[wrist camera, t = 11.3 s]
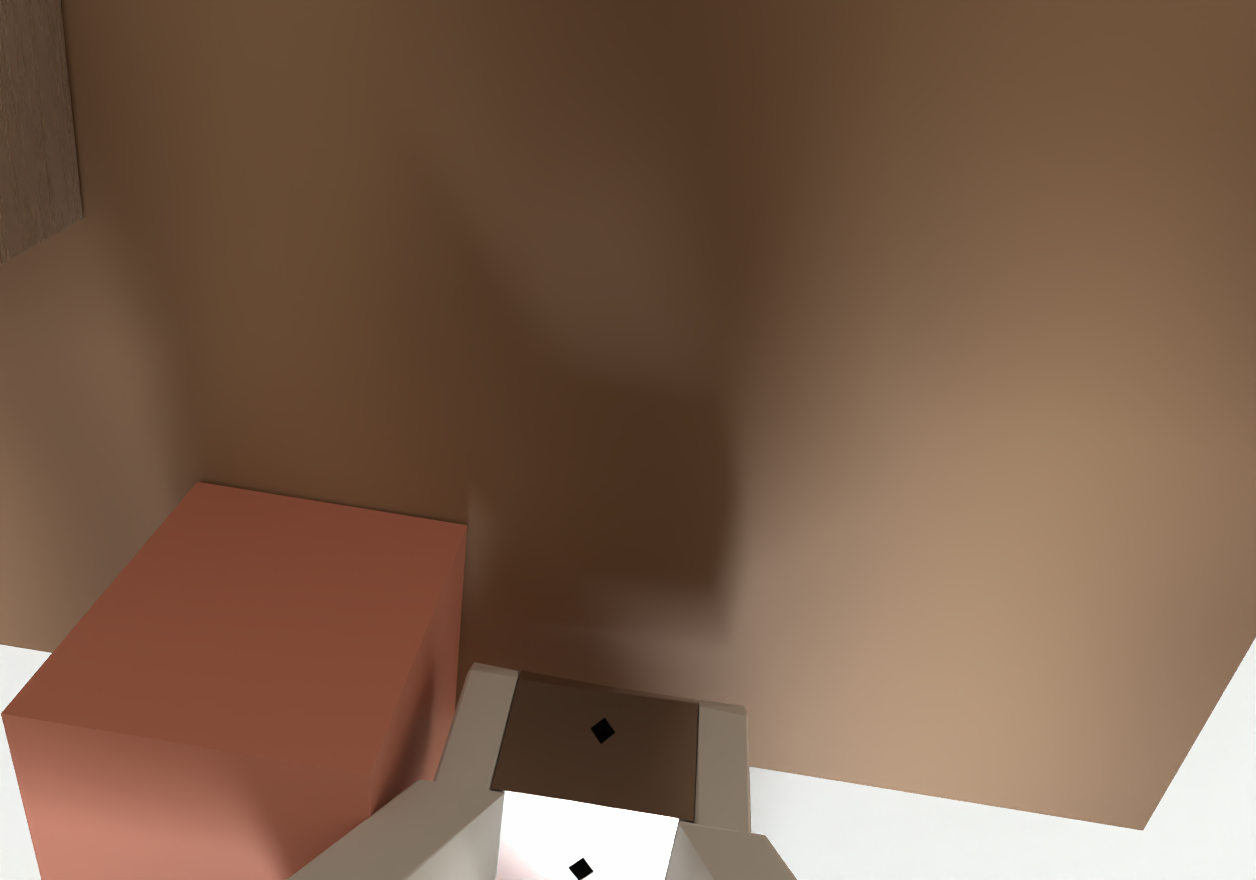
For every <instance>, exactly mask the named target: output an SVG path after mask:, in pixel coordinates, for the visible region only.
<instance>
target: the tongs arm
mask: <svg viewBox="0 0 1256 880" xmlns="http://www.w3.org/2000/svg"><path fill="white" fill-rule="evenodd" d="M81 219H83V215H82V205H81V196H80V186H79V176H78V167H77V157H76V147H75V138H74V128H73V119H72V109H71V99H70V90H69V80H68V70H67V61H66V51H65V42H64V32H63V22H62V13H61V3H60V0H0V265H1V264H3V263H5V262H7V261H8V260H10V259H12V258H14V257H15V256H17V255H19V254H21V253H23V252H24V251H26V250H28V249H30V248H31V247H33V246H35V245H37V244H38V243H40V242H42V241H44V240H46V239H47V238H49V237H51V236H53V235H54V234H56V233H58V232H60V231H61V230H63V229H65V228H67V227H68V226H70V225H72V224H74V223H76V222H77V221H79V220H81Z"/></svg>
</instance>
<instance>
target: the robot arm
mask: <svg viewBox="0 0 1256 880" xmlns="http://www.w3.org/2000/svg"><path fill="white" fill-rule="evenodd" d="M287 880H797V879H796V878H795V876H794V875H793V873H792V872H791V871H790V869H789V868H788V866H787V865H786V864H785V862H784V861H783V859H782V858H781V857H780V855H779V854H778V852H777V851H776V850H775V848H774V847H773V845H772V844H771V843H770V841H769V840H768V838H767V837H766V836H764V835H759V834H754V833H751V810H750V774H749V739H748V713H747V711H746V709H745V707H744V706H739V705H732V704H726V703H719V702H712V701H705V700H699V699H698V701H696V699H690V698H683V697H677V696H670V695H664V694H657V693H651V692H644V691H637V690H631V689H624V688H618V687H611V686H603V685H598V684H593V683H587V682H582V681H576V680H571V679H566V678H560V677H555V676H550V675H544V674H539V673H534V672H528V671H523V670H521V671H516V670H511V669H506V668H501V667H496V666H491V665H486V664H480V663H475V662H474V663H473V665H472V666H471V668H470V670H469V671H468V673H467V676H466V679H465V682H464V686H463V689H462V692H461V695H460V698H459V701H458V704H457V708H456V711H455V714H454V717H453V720H452V723H451V726H450V730H449V733H448V736H447V739H446V742H445V745H444V748H443V752H442V755H441V758H440V761H439V764H438V767H437V770H436V773H435V777H434V780H433V781H428V780H421V779H418V780H417V781H416V782H414V783H413V784H412V785H410V786H409V787H408V788H407V789H405V790H404V791H403V792H401V793H400V794H399V795H397V796H396V797H395V798H393V799H392V800H391V801H389V802H388V803H387V804H385V805H384V806H383V807H382V808H380V809H379V810H378V811H376V812H375V813H374V814H372V815H371V816H370V818H368V819H366V820H364V821H363V822H362V823H361V824H359V825H358V826H357V827H355V828H354V829H353V830H351V831H350V832H349V833H347V834H346V835H345V836H343V837H342V838H341V839H339V840H338V841H337V842H336V843H334V844H333V845H332V846H330V847H329V848H328V849H326V850H325V851H324V852H322V853H321V854H320V855H318V856H317V857H316V858H314V859H313V860H312V861H311V862H309V863H308V864H307V865H305V866H304V867H303V868H301V869H300V870H299V871H297V872H296V873H295V874H293V875H292V876H291V877H289V878H288V879H287Z"/></svg>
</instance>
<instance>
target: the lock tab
mask: <svg viewBox="0 0 1256 880" xmlns="http://www.w3.org/2000/svg"><path fill="white" fill-rule="evenodd" d="M466 535H467V525H463V524H457V523H450V522H444V521H438V520H432V519H426V518H419V517H413V516H407V515H401V514H395V513H388V512H382V511H376V510H370V509H364V508H357V507H351V506H345V505H339V504H333V503H326V502H320V501H314V500H308V499H302V498H295V497H289V496H283V495H277V494H271V493H264V492H258V491H252V490H246V489H240V488H233V487H227V486H221V485H215V484H209V483H202V482H197V483H196V484H195V485H194V486H193V488H192V489H191V490H190V491H189V492H188V493H187V495H186V496H185V497H184V498H183V499H182V501H181V502H180V503H179V504H178V505H177V506H176V508H175V509H174V510H173V511H172V512H171V514H170V515H169V516H168V517H167V518H166V519H165V521H164V522H163V523H162V524H161V525H160V527H159V528H158V529H157V530H156V531H155V532H154V534H153V535H152V536H151V537H150V538H149V540H148V541H147V542H146V543H145V544H144V545H143V547H142V548H141V549H140V550H139V551H138V553H137V554H136V555H135V556H134V557H133V558H132V560H131V561H130V562H129V563H128V564H127V566H126V567H125V568H124V569H123V570H122V571H121V573H120V574H119V575H118V576H117V577H116V579H115V580H114V581H113V582H112V583H111V584H110V586H109V587H108V588H107V589H106V590H105V591H104V593H103V594H102V595H101V596H100V597H99V599H98V600H97V601H96V602H95V603H94V604H93V606H92V607H91V608H90V609H89V610H88V612H87V613H86V614H85V615H84V616H83V617H82V619H81V620H80V621H79V622H78V623H77V625H76V626H75V627H74V628H73V629H72V630H71V632H70V633H69V634H68V635H67V636H66V638H65V639H64V640H63V641H62V642H61V643H60V645H59V646H58V647H57V648H56V649H55V651H54V652H53V653H52V654H51V655H50V656H49V658H48V659H47V660H46V661H45V662H44V664H43V665H42V666H41V667H40V668H39V669H38V671H37V672H36V673H35V674H34V675H33V677H32V678H31V679H30V680H29V681H28V682H27V684H26V685H25V686H24V687H23V688H22V689H21V691H20V692H19V693H18V694H17V695H16V697H15V698H14V699H13V700H12V701H11V702H10V704H9V705H8V706H7V707H6V708H5V710H4V711H3V712H2V713H1V716H2V720H3V724H4V728H5V732H6V736H7V740H8V744H9V748H10V753H11V757H12V761H13V765H14V769H15V773H16V777H17V781H18V785H19V789H20V793H21V798H22V802H23V806H24V810H25V814H26V818H27V822H28V826H29V830H30V834H31V839H32V843H33V847H34V851H35V855H36V859H37V863H38V867H39V871H40V875H41V880H287V879H288V878H289V877H291V876H292V875H293V874H295V873H296V872H297V871H299V870H300V869H301V868H303V867H304V866H305V865H307V864H308V863H309V862H311V861H312V860H313V859H314V858H316V857H317V856H318V855H320V854H321V853H322V852H324V851H325V850H326V849H328V848H329V847H330V846H332V845H333V844H334V843H336V842H337V841H338V840H339V839H341V838H342V837H343V836H345V835H346V834H347V833H349V832H350V831H351V830H353V829H354V828H355V827H357V826H358V825H359V824H361V823H362V822H363V821H364V820H366V819H368V818H370V816H371V815H372V814H374V813H375V812H376V811H378V810H379V809H380V808H382V807H383V806H384V805H385V804H387V803H388V802H389V801H391V800H392V799H393V798H395V797H396V796H397V795H399V794H400V793H401V792H403V791H404V790H405V789H407V788H408V787H409V786H410V785H412V784H413V783H414V782H416V781H417V780H418V779H421V780H428V781H433V780H434V777H435V773H436V770H437V767H438V764H439V761H440V758H441V755H442V752H443V748H444V745H445V742H446V739H447V736H448V733H449V730H450V726H451V723H452V720H453V717H454V714H455V702H456V687H457V672H458V656H459V641H460V626H461V611H462V596H463V581H464V566H465V551H466Z"/></svg>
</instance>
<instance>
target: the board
mask: <svg viewBox="0 0 1256 880" xmlns="http://www.w3.org/2000/svg"><path fill="white" fill-rule="evenodd" d="M60 3H61V13H62V22H63V32H64V42H65V51H66V61H67V70H68V80H69V90H70V99H71V109H72V119H73V128H74V138H75V147H76V157H77V167H78V176H79V186H80V196H81V205H82V215H83V219H81V220H79V221H77V222H76V223H74V224H72V225H70V226H68V227H67V228H65V229H63V230H61V231H60V232H58V233H56V234H54V235H53V236H51V237H49V238H47V239H46V240H44V241H42V242H40V243H38V244H37V245H35V246H33V247H31V248H30V249H28V250H26V251H24V252H23V253H21V254H19V255H17V256H15V257H14V258H12V259H10V260H8V261H7V262H5V263H3V264H1V265H0V644H2V645H8V646H14V647H20V648H26V649H32V650H38V651H45V652H51V653H53V652H54V651H55V649H56V648H57V647H58V646H59V645H60V643H61V642H62V641H63V640H64V639H65V638H66V636H67V635H68V634H69V633H70V632H71V630H72V629H73V628H74V627H75V626H76V625H77V623H78V622H79V621H80V620H81V619H82V617H83V616H84V615H85V614H86V613H87V612H88V610H89V609H90V608H91V607H92V606H93V604H94V603H95V602H96V601H97V600H98V599H99V597H100V596H101V595H102V594H103V593H104V591H105V590H106V589H107V588H108V587H109V586H110V584H111V583H112V582H113V581H114V580H115V579H116V577H117V576H118V575H119V574H120V573H121V571H122V570H123V569H124V568H125V567H126V566H127V564H128V563H129V562H130V561H131V560H132V558H133V557H134V556H135V555H136V554H137V553H138V551H139V550H140V549H141V548H142V547H143V545H144V544H145V543H146V542H147V541H148V540H149V538H150V537H151V536H152V535H153V534H154V532H155V531H156V530H157V529H158V528H159V527H160V525H161V524H162V523H163V522H164V521H165V519H166V518H167V517H168V516H169V515H170V514H171V512H172V511H173V510H174V509H175V508H176V506H177V505H178V504H179V503H180V502H181V501H182V499H183V498H184V497H185V496H186V495H187V493H188V492H189V491H190V490H191V489H192V488H193V486H194V485H195V484H196V483H197V482H202V483H209V484H215V485H221V486H227V487H233V488H240V489H246V490H252V491H258V492H264V493H271V494H277V495H283V496H289V497H295V498H302V499H308V500H314V501H320V502H326V503H333V504H339V505H345V506H351V507H357V508H364V509H370V510H376V511H382V512H388V513H395V514H401V515H407V516H413V517H419V518H426V519H432V520H438V521H444V522H450V523H457V524H463V525H467V535H466V551H465V566H464V581H463V596H462V611H461V626H460V641H459V656H458V672H457V687H456V702H455V711H456V708H457V704H458V701H459V698H460V695H461V692H462V689H463V686H464V682H465V679H466V676H467V673H468V671H469V670H470V668H471V666H472V665H473V663H474V662H475V663H480V664H486V665H491V666H496V667H501V668H506V669H511V670H516V671H521V670H523V671H528V672H534V673H539V674H544V675H550V676H555V677H560V678H566V679H571V680H576V681H582V682H587V683H593V684H598V685H603V686H611V687H618V688H624V689H631V690H637V691H644V692H651V693H657V694H664V695H670V696H677V697H683V698H690V699H696V701H698V699H699V700H705V701H712V702H719V703H726V704H732V705H739V706H744V707H745V709H746V711H747V713H748V739H749V766H751V767H757V768H763V769H769V770H775V771H781V772H787V773H794V774H800V775H806V776H812V777H818V778H824V779H830V780H836V781H843V782H849V783H855V784H861V785H867V786H873V787H879V788H886V789H892V790H898V791H904V792H910V793H916V794H922V795H929V796H935V797H941V798H947V799H953V800H959V801H965V802H972V803H978V804H984V805H990V806H996V807H1002V808H1008V809H1015V810H1021V811H1027V812H1033V813H1039V814H1045V815H1051V816H1057V817H1064V818H1070V819H1076V820H1082V821H1088V822H1094V823H1100V824H1107V825H1113V826H1119V827H1125V828H1131V829H1137V830H1143V829H1144V828H1145V826H1146V824H1147V823H1148V821H1149V819H1150V817H1151V816H1152V814H1153V812H1154V811H1155V809H1156V807H1157V805H1158V804H1159V802H1160V800H1161V799H1162V797H1163V795H1164V793H1165V792H1166V790H1167V788H1168V787H1169V785H1170V783H1171V781H1172V780H1173V778H1174V776H1175V775H1176V773H1177V771H1178V769H1179V768H1180V766H1181V764H1182V763H1183V761H1184V759H1185V757H1186V756H1187V754H1188V752H1189V751H1190V749H1191V747H1192V745H1193V744H1194V742H1195V740H1196V739H1197V737H1198V735H1199V733H1200V732H1201V730H1202V728H1203V727H1204V725H1205V723H1206V721H1207V720H1208V718H1209V716H1210V715H1211V713H1212V711H1213V709H1214V708H1215V706H1216V704H1217V703H1218V701H1219V699H1220V697H1221V696H1222V694H1223V692H1224V691H1225V689H1226V687H1227V685H1228V684H1229V682H1230V680H1231V679H1232V677H1233V675H1234V673H1235V672H1236V670H1237V668H1238V667H1239V665H1240V663H1241V661H1242V660H1243V658H1244V656H1245V655H1246V653H1247V651H1248V649H1249V648H1250V646H1251V644H1252V643H1253V641H1254V639H1255V637H1256V0H60Z"/></svg>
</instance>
